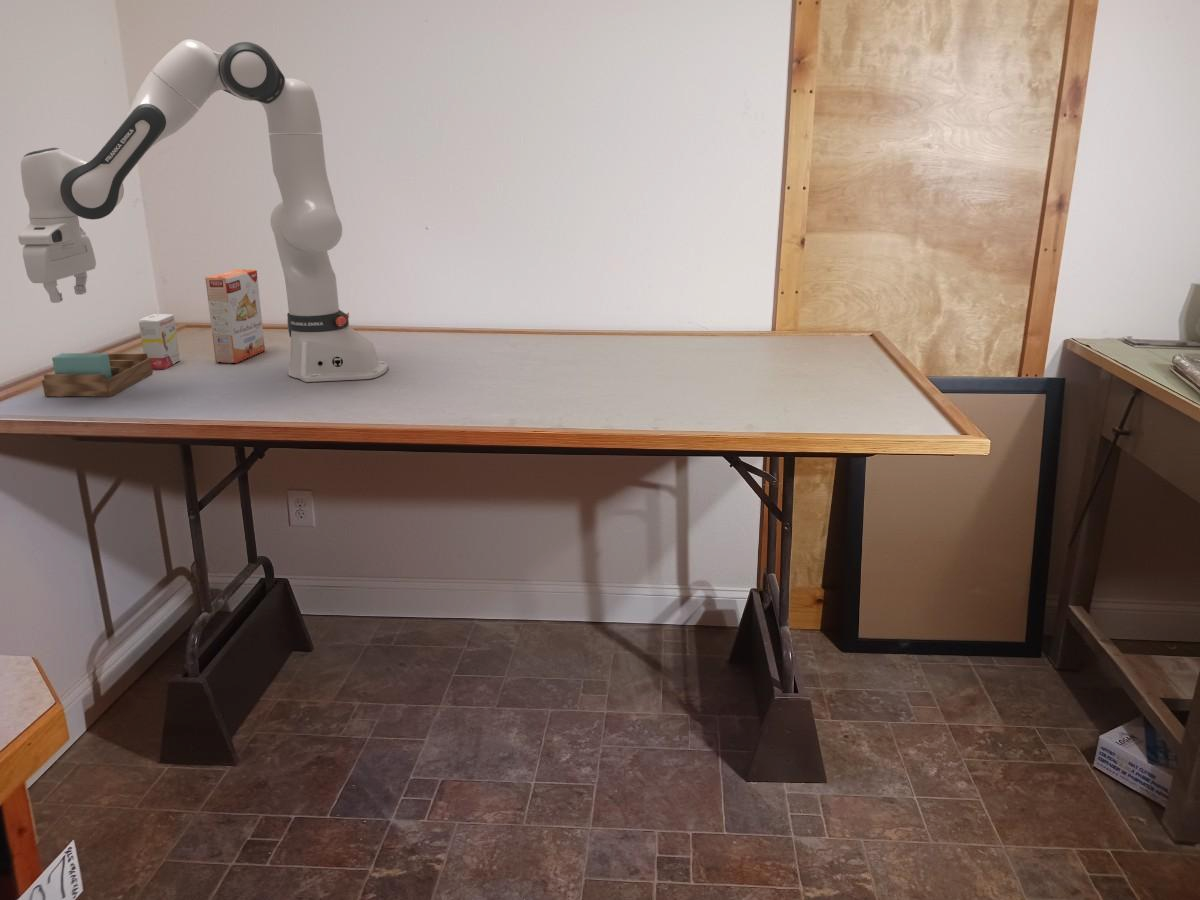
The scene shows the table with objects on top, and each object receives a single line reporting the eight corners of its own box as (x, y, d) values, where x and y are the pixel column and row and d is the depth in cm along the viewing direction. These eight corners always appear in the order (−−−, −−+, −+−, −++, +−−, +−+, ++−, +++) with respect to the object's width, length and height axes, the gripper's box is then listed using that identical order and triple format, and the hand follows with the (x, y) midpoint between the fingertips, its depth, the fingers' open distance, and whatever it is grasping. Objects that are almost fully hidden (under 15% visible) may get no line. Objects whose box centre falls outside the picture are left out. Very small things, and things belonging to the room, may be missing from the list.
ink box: (165, 369, 230) (157, 320, 226) (144, 369, 230) (136, 320, 226) (181, 361, 238) (174, 313, 234) (162, 361, 238) (154, 313, 234)
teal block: (68, 384, 213) (62, 353, 210) (113, 384, 213) (108, 353, 210) (58, 389, 209) (52, 357, 207) (104, 389, 209) (98, 357, 206)
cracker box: (237, 364, 234) (226, 277, 227) (214, 363, 235) (202, 276, 229) (267, 351, 247) (257, 268, 240) (245, 350, 248) (235, 268, 242)
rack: (152, 373, 226) (149, 353, 225) (110, 396, 208) (106, 374, 206) (92, 373, 227) (88, 353, 225) (45, 396, 208) (40, 375, 206)
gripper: (68, 225, 210) (80, 289, 214) (12, 237, 190) (26, 307, 195) (97, 225, 210) (108, 289, 214) (44, 236, 190) (58, 306, 195)
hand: (69, 298), depth 204 cm, fingers open, 8 cm apart
